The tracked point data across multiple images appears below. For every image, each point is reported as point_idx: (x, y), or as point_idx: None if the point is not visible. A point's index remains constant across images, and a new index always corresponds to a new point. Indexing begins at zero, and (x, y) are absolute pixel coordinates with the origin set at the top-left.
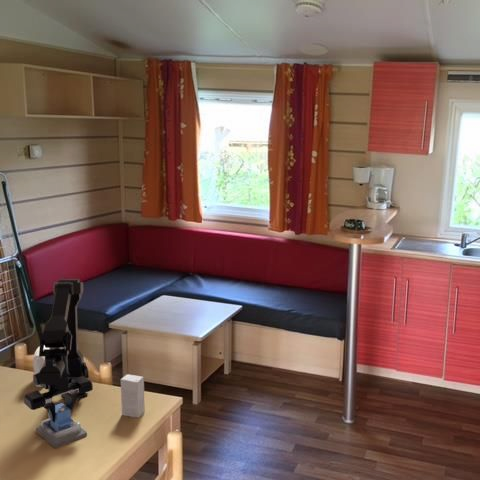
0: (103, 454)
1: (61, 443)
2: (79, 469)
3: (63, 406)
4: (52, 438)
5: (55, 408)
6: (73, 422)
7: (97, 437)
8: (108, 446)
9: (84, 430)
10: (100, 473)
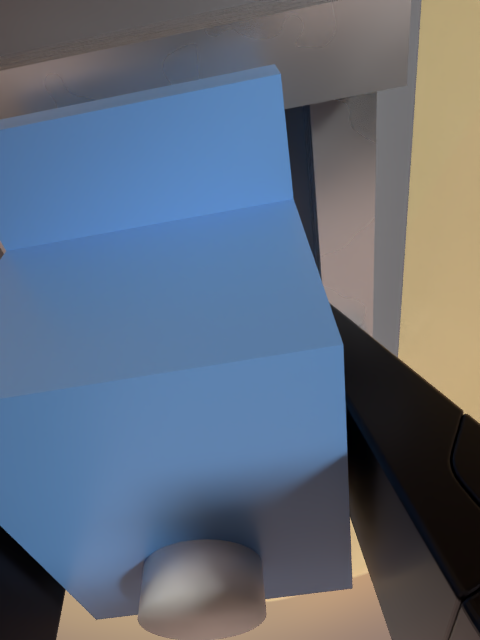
0: (351, 532)
1: None
2: None
3: (283, 500)
4: None
5: (77, 508)
6: (373, 236)
7: None
8: None
9: (397, 351)
10: (269, 601)
